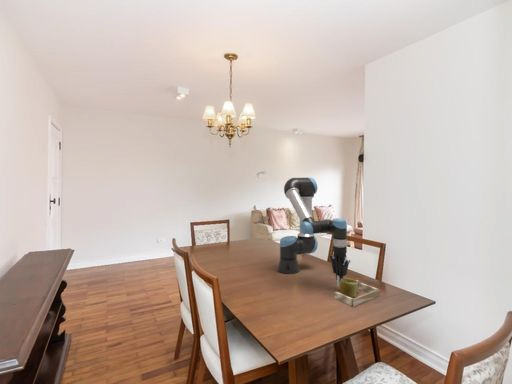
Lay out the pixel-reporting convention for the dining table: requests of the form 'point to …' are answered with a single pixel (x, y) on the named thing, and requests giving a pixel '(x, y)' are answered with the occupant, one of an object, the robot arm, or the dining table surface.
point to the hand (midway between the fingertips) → (339, 286)
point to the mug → (349, 287)
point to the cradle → (360, 299)
